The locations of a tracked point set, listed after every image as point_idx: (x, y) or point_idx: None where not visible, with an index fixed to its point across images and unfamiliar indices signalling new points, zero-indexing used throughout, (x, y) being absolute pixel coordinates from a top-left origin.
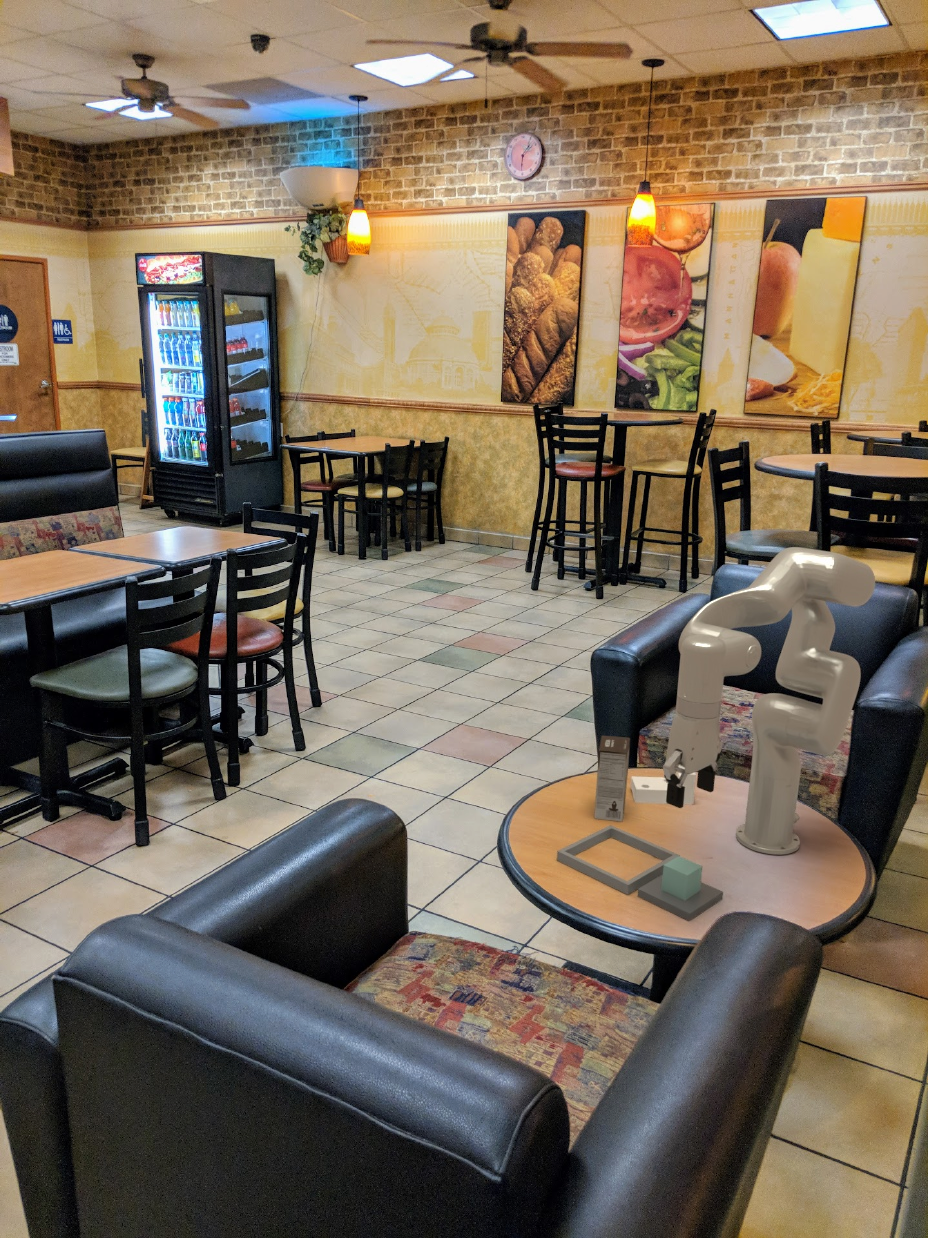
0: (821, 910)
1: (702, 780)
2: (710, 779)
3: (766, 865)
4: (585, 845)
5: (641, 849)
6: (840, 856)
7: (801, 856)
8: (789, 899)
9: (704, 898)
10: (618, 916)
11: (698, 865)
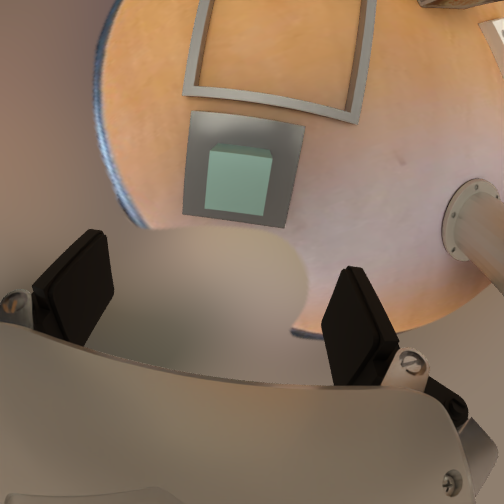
0: None
1: (344, 318)
2: (334, 362)
3: (415, 239)
4: None
5: (355, 50)
6: (457, 295)
7: (449, 265)
8: None
9: (242, 213)
10: (123, 124)
11: (260, 208)
